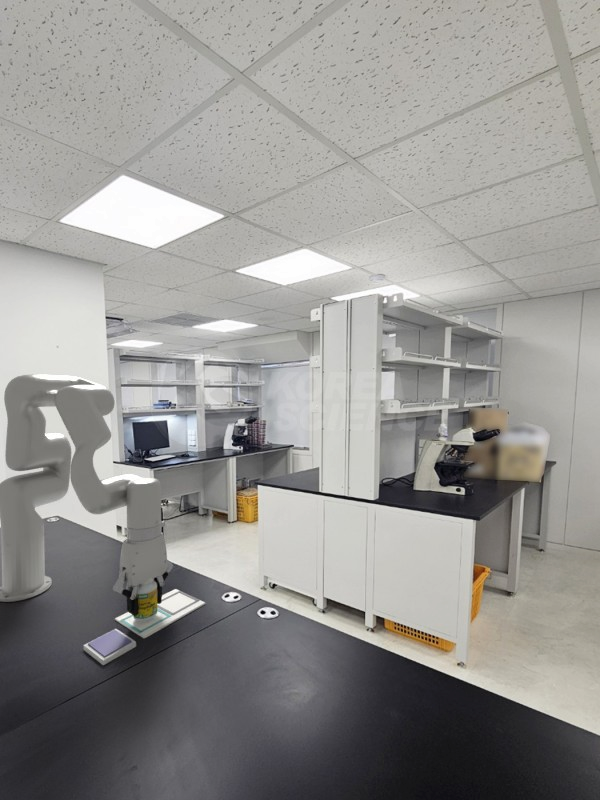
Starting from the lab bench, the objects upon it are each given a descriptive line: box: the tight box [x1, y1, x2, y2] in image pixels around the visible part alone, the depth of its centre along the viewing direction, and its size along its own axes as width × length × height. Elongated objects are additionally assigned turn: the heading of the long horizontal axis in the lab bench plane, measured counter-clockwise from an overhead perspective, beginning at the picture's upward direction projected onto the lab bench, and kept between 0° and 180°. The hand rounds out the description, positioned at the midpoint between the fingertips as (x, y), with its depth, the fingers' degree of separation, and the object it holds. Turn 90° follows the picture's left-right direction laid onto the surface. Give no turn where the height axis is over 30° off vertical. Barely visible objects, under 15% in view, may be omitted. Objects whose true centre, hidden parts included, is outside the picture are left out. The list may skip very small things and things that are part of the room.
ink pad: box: [83, 628, 137, 666], centre depth 82 cm, size 8×7×1 cm
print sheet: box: [114, 588, 206, 639], centre depth 95 cm, size 12×17×1 cm
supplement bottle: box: [133, 578, 157, 621], centre depth 92 cm, size 5×5×10 cm
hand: (145, 606), depth 92 cm, fingers closed on supplement bottle, 5 cm apart
